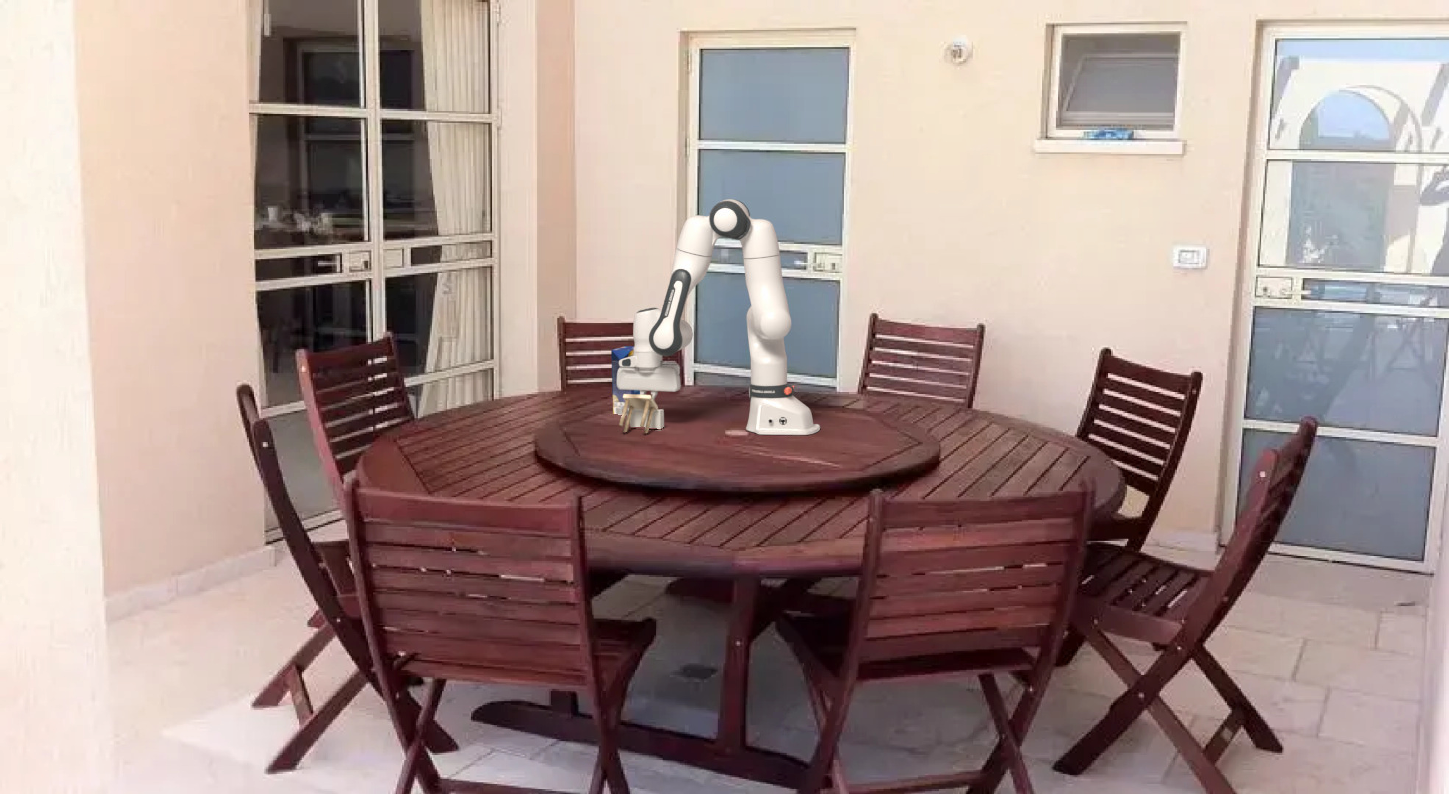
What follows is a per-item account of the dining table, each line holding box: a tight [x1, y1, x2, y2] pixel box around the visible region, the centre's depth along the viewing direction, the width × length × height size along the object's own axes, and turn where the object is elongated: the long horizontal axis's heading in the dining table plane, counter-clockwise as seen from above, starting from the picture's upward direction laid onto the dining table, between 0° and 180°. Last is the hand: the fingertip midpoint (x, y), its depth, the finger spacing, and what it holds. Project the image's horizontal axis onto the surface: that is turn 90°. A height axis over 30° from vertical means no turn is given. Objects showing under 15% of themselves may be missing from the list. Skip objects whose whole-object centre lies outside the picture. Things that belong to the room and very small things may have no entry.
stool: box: [618, 394, 659, 434], centre depth 409 cm, size 9×7×10 cm
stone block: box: [629, 408, 665, 429], centre depth 417 cm, size 10×3×6 cm, turn 72°
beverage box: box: [610, 345, 640, 415], centre depth 441 cm, size 7×11×22 cm, turn 160°
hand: (649, 404), depth 418 cm, fingers closed
